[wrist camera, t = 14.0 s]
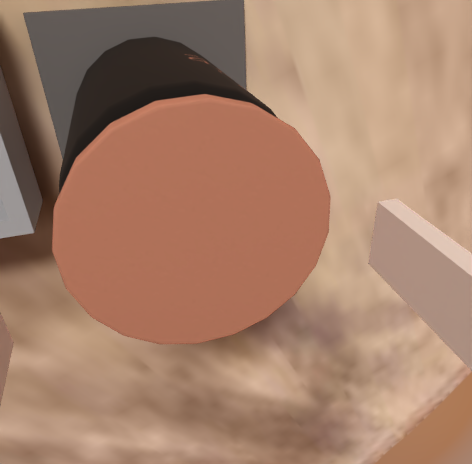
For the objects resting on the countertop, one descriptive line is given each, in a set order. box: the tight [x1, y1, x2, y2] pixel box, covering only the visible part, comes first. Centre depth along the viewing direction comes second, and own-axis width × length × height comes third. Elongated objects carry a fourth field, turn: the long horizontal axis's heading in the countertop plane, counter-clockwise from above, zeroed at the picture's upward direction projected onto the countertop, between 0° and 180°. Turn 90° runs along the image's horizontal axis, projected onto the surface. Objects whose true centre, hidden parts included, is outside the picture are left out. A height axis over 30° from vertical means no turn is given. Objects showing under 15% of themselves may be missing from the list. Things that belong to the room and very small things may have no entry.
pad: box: [23, 0, 246, 158], centre depth 31 cm, size 14×14×1 cm
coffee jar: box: [52, 37, 330, 344], centre depth 24 cm, size 11×11×18 cm
